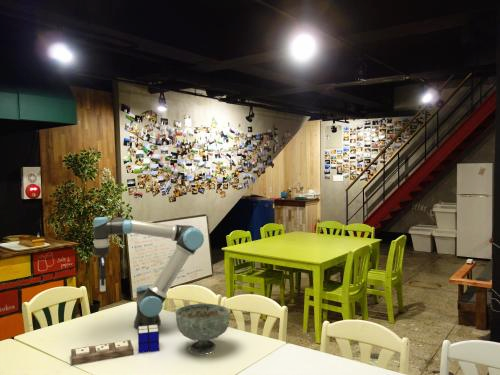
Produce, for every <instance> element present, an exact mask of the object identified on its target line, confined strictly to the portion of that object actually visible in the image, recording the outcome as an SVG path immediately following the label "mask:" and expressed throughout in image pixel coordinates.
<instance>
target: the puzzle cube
mask: <svg viewBox="0 0 500 375" xmlns="http://www.w3.org/2000/svg"><path fill="white" fill-rule="evenodd" d="M137 346H138V348H137V350H138V354H143V353H145V354H146V353H152V352H159V351H160V329H159V327H158V325H149V326H140V327H138V329H137Z"/></svg>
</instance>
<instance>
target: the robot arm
mask: <svg viewBox="0 0 500 375" xmlns="http://www.w3.org/2000/svg"><path fill="white" fill-rule="evenodd" d="M92 227H93V230H92V231H93V240H92V243H93V247H94V248H93V252H94V253H93V254H94V255H95V256H97V262H98V263H97V265H98V273H99V274H98V276H99V277H98V280H99V292H101V293H102V292H106V290H107V289H106V286H107V285H106V279H107V276H106V266H107V257H106V255H109V254H110V236H113V235H127V234H128V235H129V234H135V235H136V234H137V235H143V236H148V237H149V236H152V237H156V238H157V237H158V238H165V239H170V240H171V241H174V242H176V243H175V250H173V253H171V256H170V257H169V259H168V261H167V262H166V264H165V265H164V267H163V269H162V270H161V272H160V274H158V277H157V278H155V281H154V283H153V284H147V285H140V286H137V287H136V292H135V293H136V315H135V319H134V322H133V328H135V329H136V330H138V327H140V326H149V325H158V326H159V327H160V326H161V325H162V320H161V317H160V314H161V311H162V309H163V306H164V305H163V304H164V302H165V301H166V299H167V297H168V296H167V293H168V291H169V290H170V288H171V286H172V284H173V283H174V281H175V280H176V278H177V277H178V275H179V273H180V271H182V268H183V267H184V266H185V264H186V262H187V260H188V259H189V257H190V256H193V255H194V254H195V253H196V251H198V249H200V248H201V247H202V246H203V244H204V241H205V240H204V239H205V237H204V234H203V232H202V231H201V229H200V228H197V227H195V226H193V225H189V224H188V225H187V224H186V225H182V224H173V225H170V224H164V223H157V222H156V223H155V222H150V221H149V222H148V221H143V220H136V219H129V218H123V217H121V216H119V217H115V218H114V219H113V220H109V218H108V216H103V217H102V216H99V217H94V219H93V224H92Z"/></svg>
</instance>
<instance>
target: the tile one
mask: <svg viewBox="0 0 500 375" xmlns="http://www.w3.org/2000/svg"><path fill="white" fill-rule="evenodd" d="M85 347H86V348H83V347H78V348H79V349H76V348H75V349H76V356H80V355H86V354H89V346H85Z"/></svg>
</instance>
